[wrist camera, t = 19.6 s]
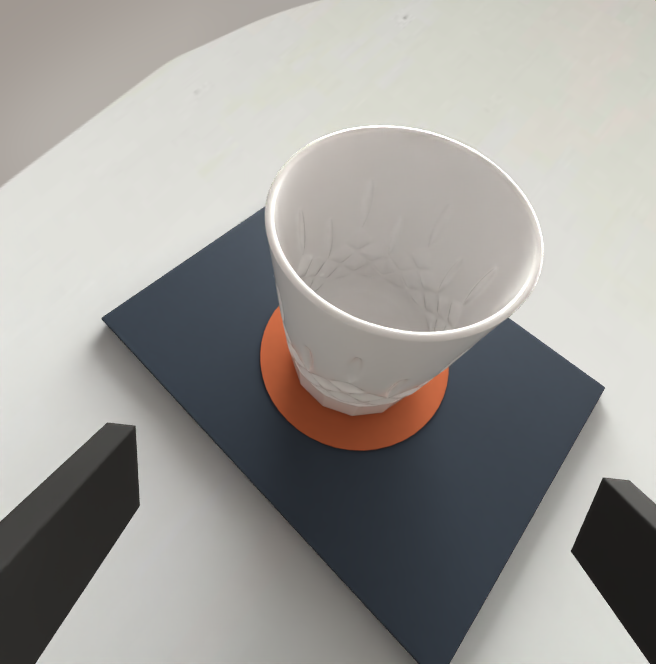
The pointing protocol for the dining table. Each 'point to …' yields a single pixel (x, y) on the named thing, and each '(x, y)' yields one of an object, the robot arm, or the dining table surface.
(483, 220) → the white cup
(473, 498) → the place mat
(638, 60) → the dining table surface
